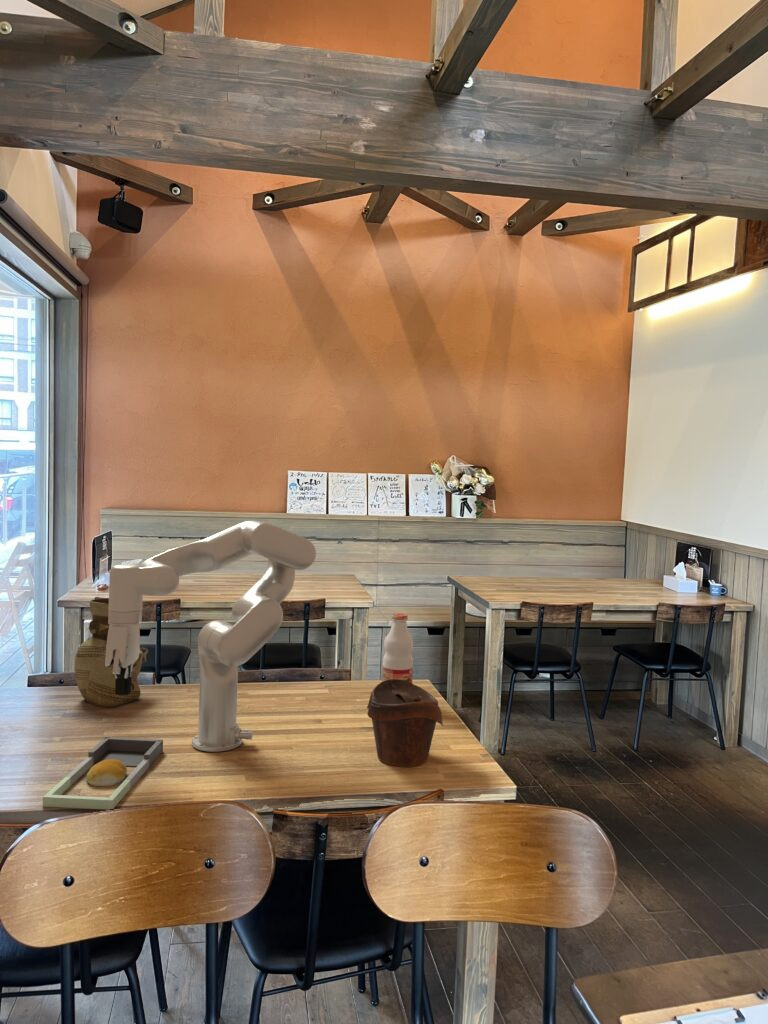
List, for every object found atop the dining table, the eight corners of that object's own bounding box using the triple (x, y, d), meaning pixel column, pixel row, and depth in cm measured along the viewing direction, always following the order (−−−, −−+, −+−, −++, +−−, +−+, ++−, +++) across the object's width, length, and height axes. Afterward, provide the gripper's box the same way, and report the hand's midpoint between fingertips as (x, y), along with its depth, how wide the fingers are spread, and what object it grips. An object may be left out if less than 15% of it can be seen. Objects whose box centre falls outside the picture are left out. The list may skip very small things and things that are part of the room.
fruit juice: (391, 698, 233) (394, 610, 232) (416, 703, 229) (420, 614, 227) (375, 705, 225) (378, 615, 224) (401, 711, 221) (405, 619, 219)
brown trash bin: (423, 779, 171) (426, 703, 171) (350, 760, 181) (353, 688, 180) (454, 756, 187) (457, 686, 186) (385, 740, 196) (388, 674, 196)
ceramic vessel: (154, 704, 219) (156, 604, 217) (77, 712, 208) (79, 608, 207) (141, 687, 235) (143, 594, 234) (70, 694, 225) (72, 597, 224)
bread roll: (128, 770, 171) (128, 753, 171) (123, 786, 162) (123, 768, 162) (90, 772, 169) (90, 755, 169) (83, 788, 160) (83, 770, 160)
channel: (162, 751, 182) (163, 739, 182) (112, 809, 150) (112, 795, 150) (105, 748, 182) (105, 737, 182) (42, 806, 151) (42, 792, 150)
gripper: (121, 610, 181) (119, 684, 181) (96, 622, 166) (94, 702, 167) (151, 612, 181) (149, 685, 181) (129, 624, 166) (127, 704, 166)
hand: (123, 693), depth 174 cm, fingers closed
